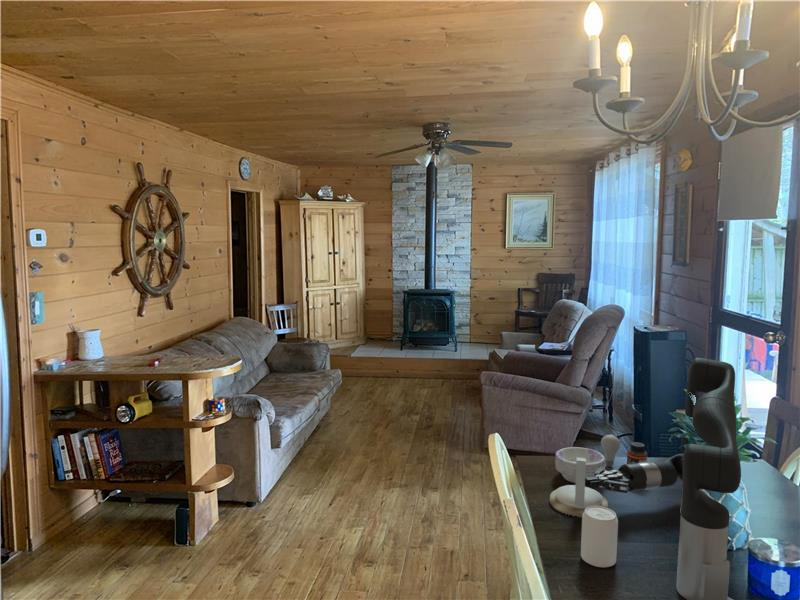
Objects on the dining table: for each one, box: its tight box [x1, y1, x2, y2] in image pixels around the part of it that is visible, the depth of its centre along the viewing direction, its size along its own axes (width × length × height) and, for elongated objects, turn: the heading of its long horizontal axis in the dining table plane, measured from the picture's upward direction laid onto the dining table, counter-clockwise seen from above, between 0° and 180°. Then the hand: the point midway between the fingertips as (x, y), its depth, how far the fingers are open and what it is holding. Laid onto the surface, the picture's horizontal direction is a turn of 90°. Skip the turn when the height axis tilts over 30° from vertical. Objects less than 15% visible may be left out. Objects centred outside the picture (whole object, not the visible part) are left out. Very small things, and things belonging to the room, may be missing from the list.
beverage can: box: [580, 506, 619, 568], centre depth 139 cm, size 8×8×12 cm
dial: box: [555, 457, 603, 509], centre depth 167 cm, size 14×13×14 cm
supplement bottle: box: [626, 441, 648, 464], centre depth 186 cm, size 6×6×11 cm
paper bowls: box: [554, 446, 606, 484], centre depth 186 cm, size 15×15×8 cm
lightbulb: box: [600, 434, 621, 468], centre depth 195 cm, size 6×6×11 cm
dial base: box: [549, 489, 609, 518], centre depth 169 cm, size 16×16×2 cm
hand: (585, 482), depth 162 cm, fingers closed
